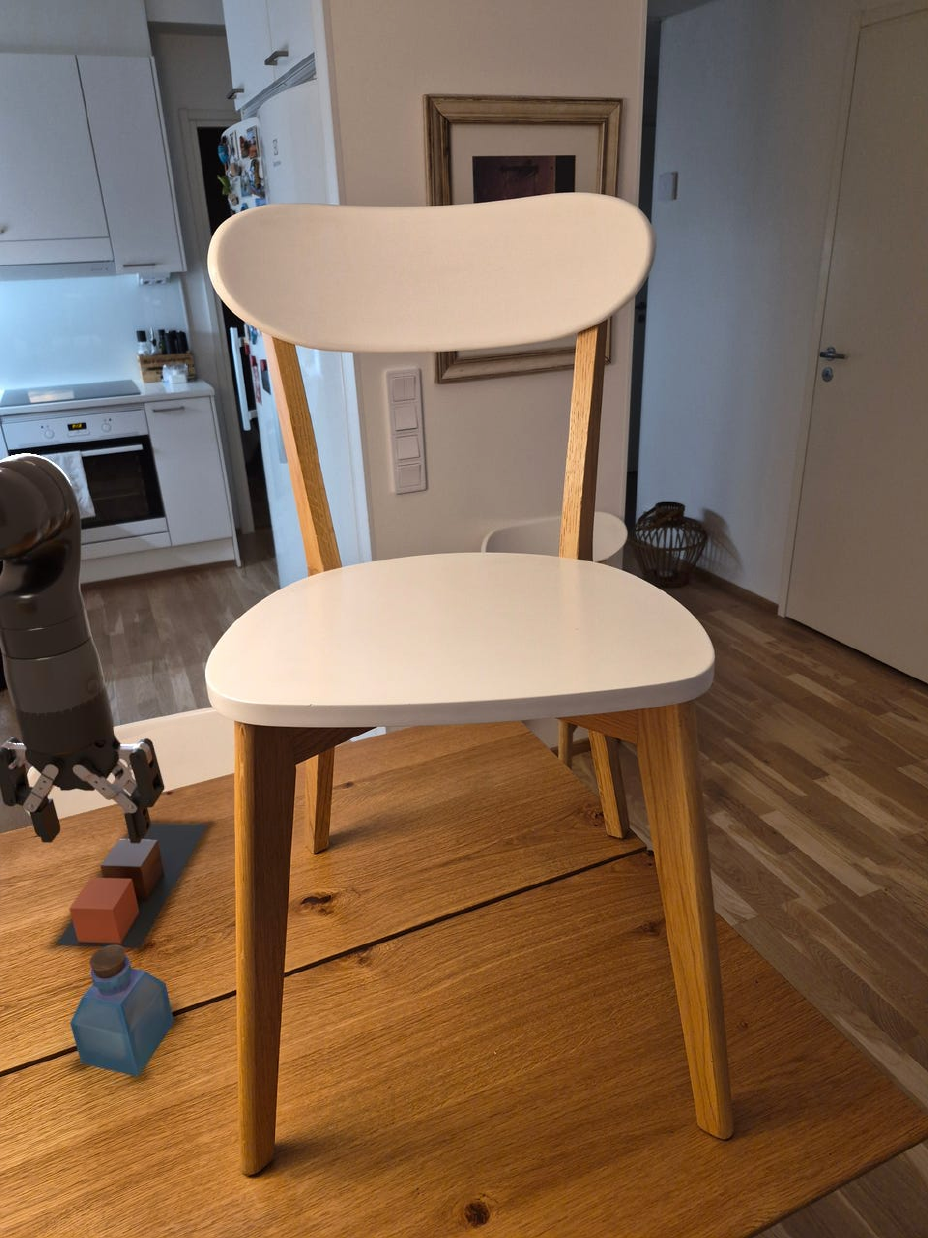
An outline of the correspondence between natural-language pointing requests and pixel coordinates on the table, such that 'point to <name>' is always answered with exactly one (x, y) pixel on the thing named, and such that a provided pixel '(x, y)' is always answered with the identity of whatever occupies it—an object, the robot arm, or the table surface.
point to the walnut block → (135, 865)
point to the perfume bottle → (120, 1014)
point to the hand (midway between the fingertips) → (95, 837)
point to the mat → (172, 867)
